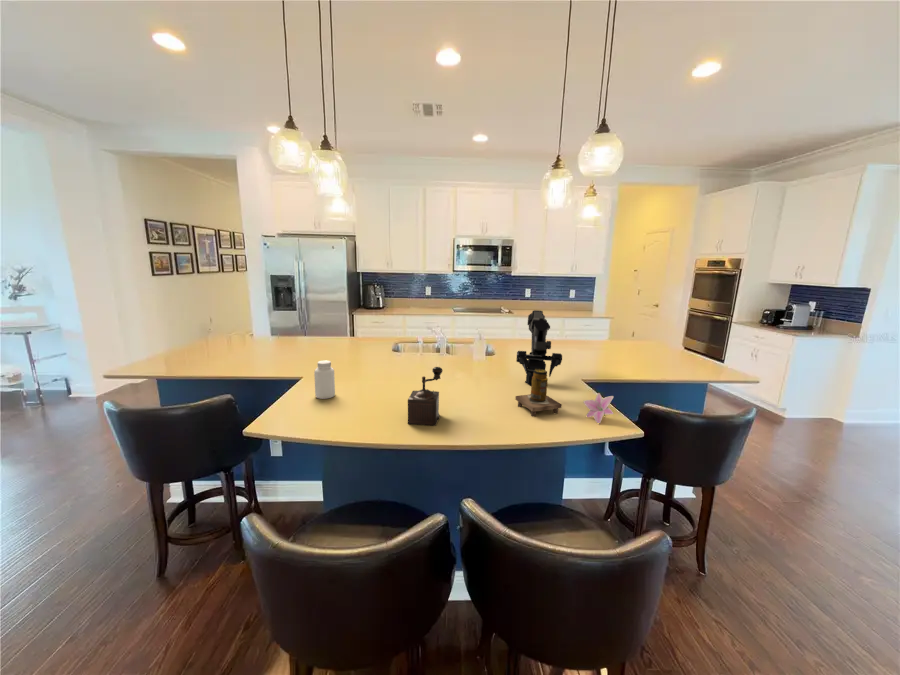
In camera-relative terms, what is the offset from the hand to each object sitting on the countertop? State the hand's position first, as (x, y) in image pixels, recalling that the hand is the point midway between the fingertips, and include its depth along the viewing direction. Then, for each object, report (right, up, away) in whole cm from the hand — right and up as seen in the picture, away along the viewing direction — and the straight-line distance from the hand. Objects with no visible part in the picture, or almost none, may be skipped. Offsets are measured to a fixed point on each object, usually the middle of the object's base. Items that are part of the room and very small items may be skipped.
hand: (538, 375), depth 154 cm
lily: (+20, -16, -12) cm, 28 cm away
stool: (-2, -13, -5) cm, 14 cm away
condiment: (-2, -9, -6) cm, 11 cm away
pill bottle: (-90, -9, +3) cm, 90 cm away
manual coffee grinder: (-46, -14, -14) cm, 50 cm away
